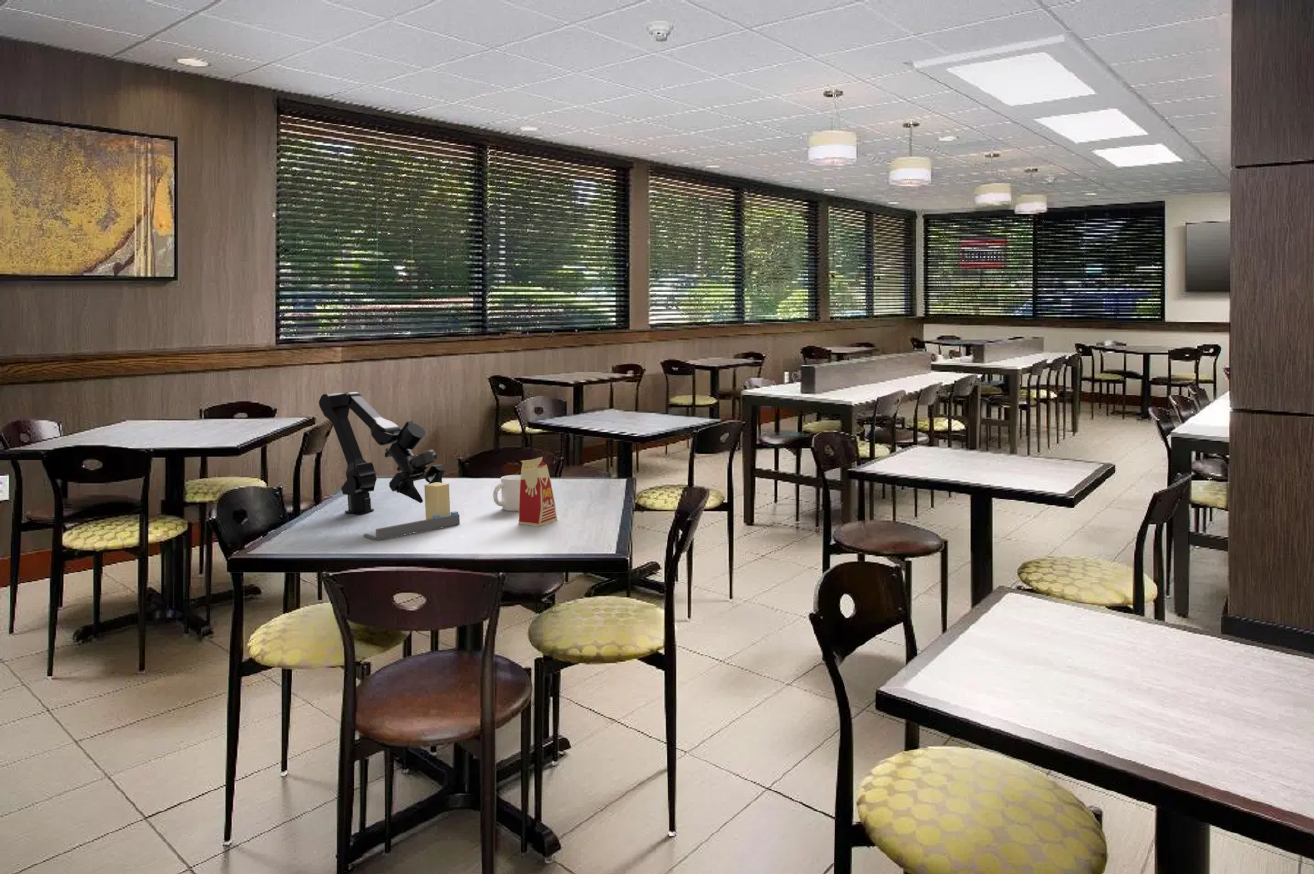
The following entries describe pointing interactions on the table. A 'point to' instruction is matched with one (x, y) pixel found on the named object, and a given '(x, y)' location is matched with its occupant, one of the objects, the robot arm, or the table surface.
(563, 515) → the table surface
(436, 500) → the wooden block
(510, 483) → the mug
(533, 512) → the milk carton
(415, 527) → the gray bench frame
